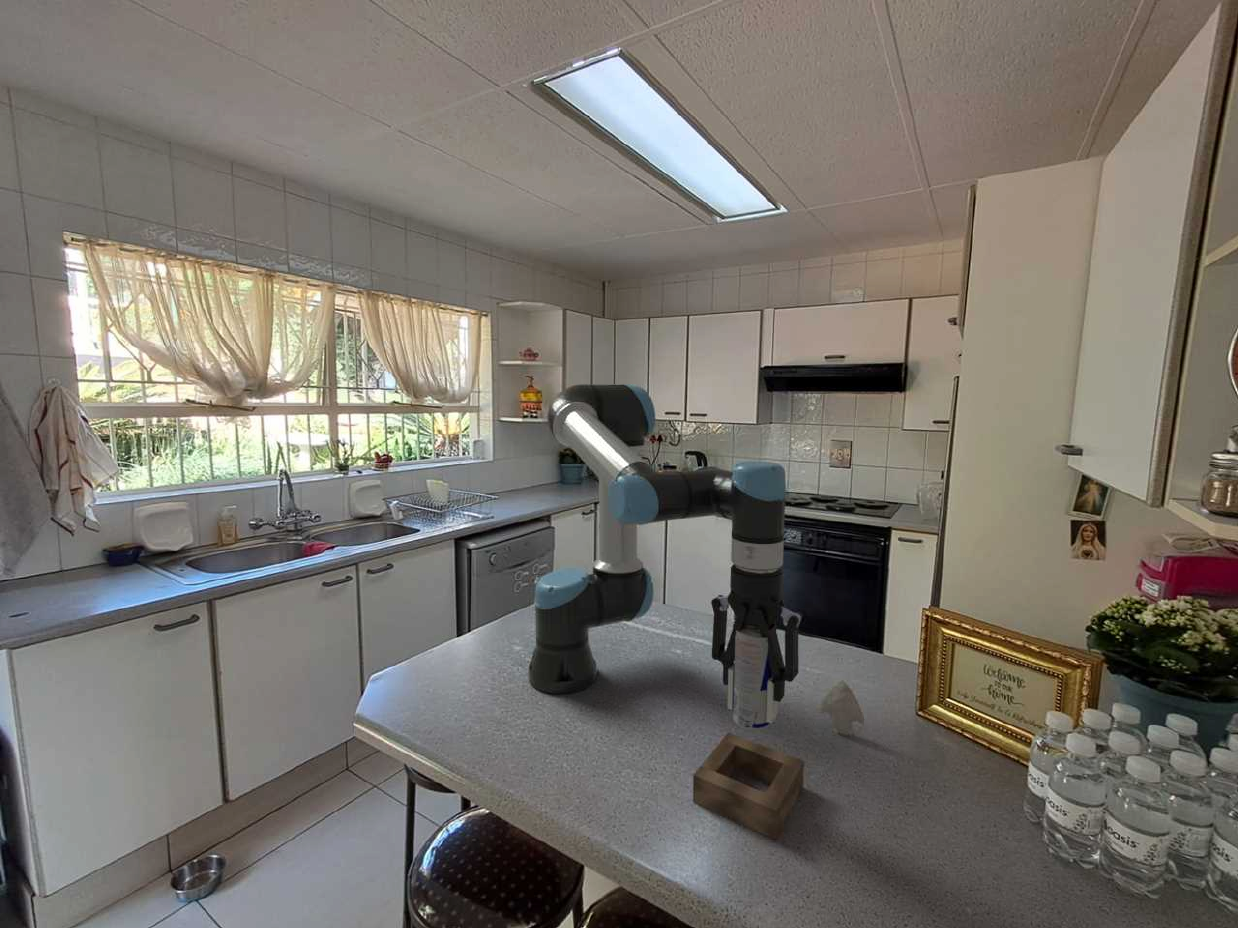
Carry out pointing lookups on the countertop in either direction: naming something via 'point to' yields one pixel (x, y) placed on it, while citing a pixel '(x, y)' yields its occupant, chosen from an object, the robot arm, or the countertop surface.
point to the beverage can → (751, 679)
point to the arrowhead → (842, 708)
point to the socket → (742, 800)
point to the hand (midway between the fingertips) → (752, 711)
